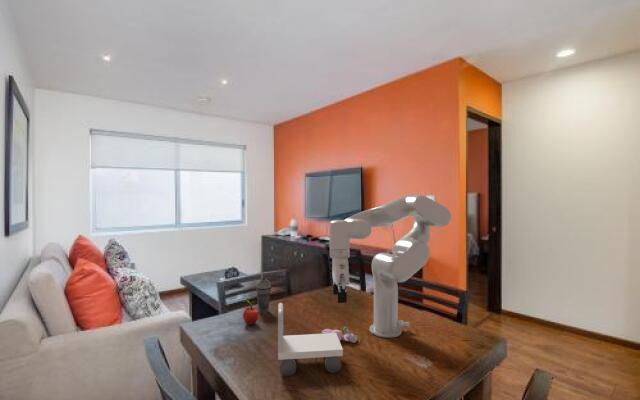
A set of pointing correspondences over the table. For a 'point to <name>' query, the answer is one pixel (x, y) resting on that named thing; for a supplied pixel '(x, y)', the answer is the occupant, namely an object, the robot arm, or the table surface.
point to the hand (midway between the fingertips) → (339, 298)
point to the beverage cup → (263, 294)
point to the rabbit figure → (347, 336)
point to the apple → (250, 315)
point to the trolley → (307, 348)
